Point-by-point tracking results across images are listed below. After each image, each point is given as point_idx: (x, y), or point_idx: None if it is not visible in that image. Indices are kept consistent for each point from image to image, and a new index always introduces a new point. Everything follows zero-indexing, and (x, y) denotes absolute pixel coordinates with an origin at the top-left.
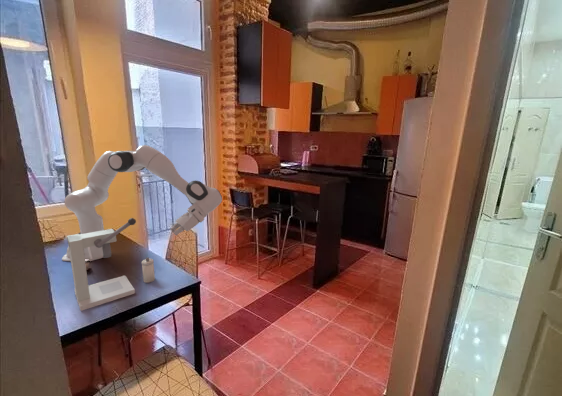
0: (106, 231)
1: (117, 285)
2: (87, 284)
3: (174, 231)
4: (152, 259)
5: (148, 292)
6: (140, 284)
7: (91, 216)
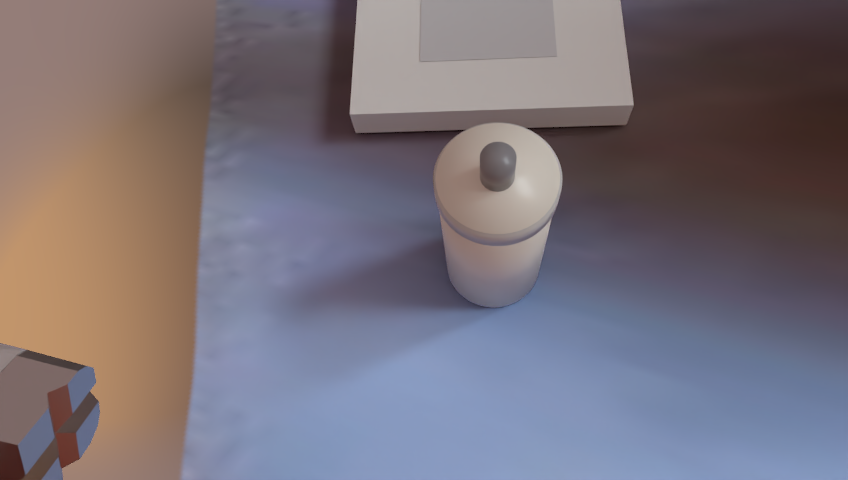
0: None
1: (487, 38)
2: None
3: (54, 387)
4: (505, 229)
5: (308, 208)
6: None
7: None
